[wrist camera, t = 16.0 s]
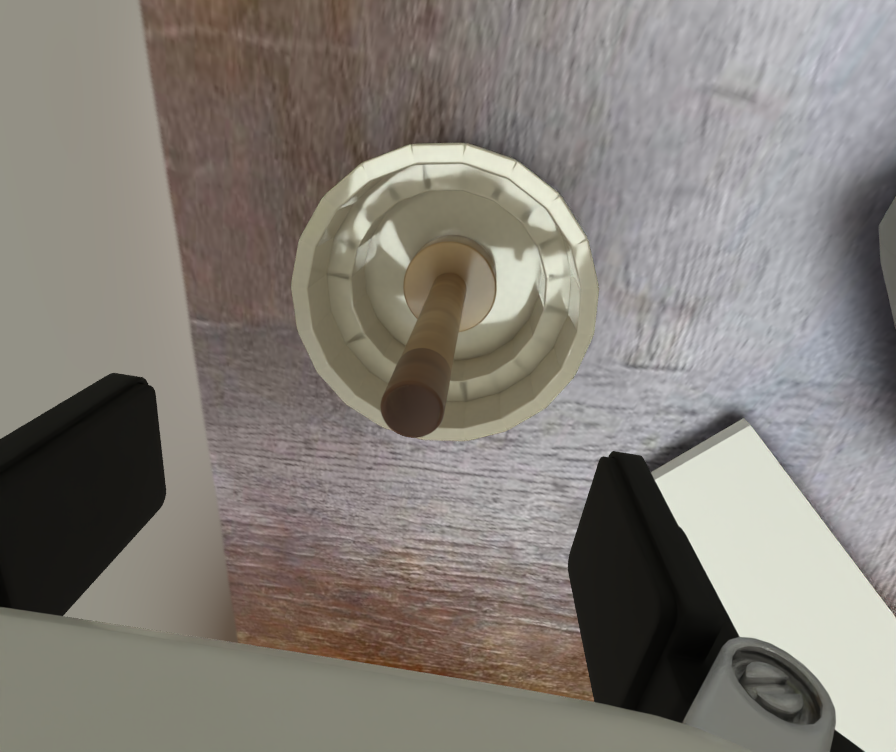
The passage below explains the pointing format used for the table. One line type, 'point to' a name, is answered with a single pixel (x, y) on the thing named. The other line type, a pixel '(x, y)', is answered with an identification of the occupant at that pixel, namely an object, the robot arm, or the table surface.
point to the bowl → (394, 246)
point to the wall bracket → (787, 576)
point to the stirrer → (436, 329)
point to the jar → (889, 254)
